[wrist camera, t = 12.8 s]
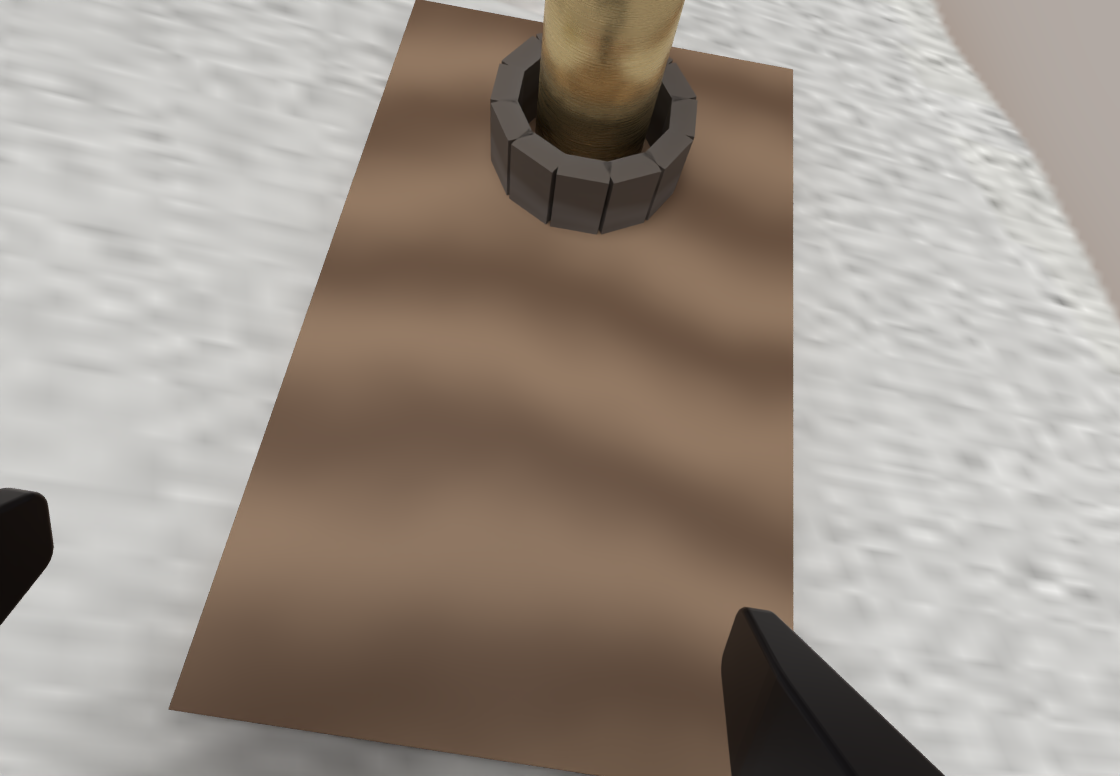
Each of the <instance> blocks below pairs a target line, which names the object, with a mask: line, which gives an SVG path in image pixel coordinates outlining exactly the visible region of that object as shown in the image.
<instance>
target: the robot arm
mask: <svg viewBox="0 0 1120 776" xmlns="http://www.w3.org/2000/svg"><path fill="white" fill-rule="evenodd" d="M53 548H54V545H53V537H52V530H51V523H50V516H49V509H48V503H47V500H46V499H45V497H44V496H43V495H42V494H40V493H38V492H33V491H27V490H21V489H15V488H2V489H0V625H1V624H2V623H3V621H4V620H5V619H6V618H7V616H8V615H9V614H10V613H11V611H12V610H13V609H14V608H15V606H16V605H17V604H18V603H19V601H20V600H21V599H22V597H23V596H24V595H25V594H26V592H27V591H28V590H29V589H30V587H31V586H32V585H33V584H34V582H35V581H36V580H37V579H38V577H39V576H40V575H41V574H42V572H43V571H44V570H45V568H46V567H47V565H48V564H49V562H50V560H51V557H52V554H53ZM721 678H722V688H723V698H724V708H725V718H726V728H727V738H728V748H729V758H730V768H731V776H945V775H944V774H943V773H942V772H941V771H940V770H938V769H937V768H936V767H935V766H934V765H933V764H932V763H931V762H930V761H929V760H928V759H927V758H926V757H925V756H924V755H923V754H922V753H921V752H920V751H919V750H918V749H916V748H915V747H914V746H913V745H912V744H911V743H910V742H909V741H908V740H907V739H906V738H905V737H904V736H903V735H902V734H901V733H900V732H899V731H898V730H897V729H895V728H894V727H893V726H892V725H891V724H890V723H889V722H888V721H887V720H886V719H885V718H884V717H883V716H882V715H881V714H880V713H879V712H878V711H877V710H876V709H875V708H873V707H872V706H871V705H870V704H869V703H868V702H867V701H866V700H865V699H864V698H863V697H862V696H861V695H860V694H859V693H858V692H857V691H856V690H855V689H854V688H852V687H851V686H850V685H849V684H848V683H847V682H846V681H845V680H844V679H843V678H842V677H841V676H840V675H839V674H838V673H837V672H836V671H835V670H834V669H833V668H832V667H830V666H829V665H828V664H827V663H826V662H825V661H824V660H823V659H822V658H821V657H820V656H819V655H818V654H817V653H816V652H815V651H814V650H813V649H812V648H811V647H809V646H808V645H807V644H806V643H805V642H804V641H803V640H802V639H801V638H800V637H799V636H798V635H797V634H796V633H795V632H794V631H793V630H792V629H791V628H790V627H789V626H787V625H786V624H785V623H784V622H783V621H782V620H781V619H780V618H779V617H778V616H777V615H776V614H775V613H773V612H772V611H769V610H763V609H757V608H751V607H743V608H741V609H739V611H738V612H737V614H736V616H735V619H734V622H733V625H732V628H731V631H730V634H729V637H728V640H727V643H726V646H725V649H724V652H723V655H722V661H721Z"/></svg>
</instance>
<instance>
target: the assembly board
mask: <svg viewBox="0 0 1120 776" xmlns="http://www.w3.org/2000/svg"><path fill="white" fill-rule="evenodd" d="M542 36H543V23H542V22H537V21H531V20H526V19H521V18H515V17H510V16H505V15H499V14H494V13H489V12H483V11H478V10H473V9H468V8H462V7H457V6H452V5H446V4H441V3H436V2H430V1H425V0H416V1H415V4H414V7H413V10H412V12H411V15H410V18H409V21H408V24H407V27H406V30H405V32H404V35H403V38H402V41H401V44H400V47H399V50H398V53H397V55H396V58H395V61H394V64H393V67H392V70H391V73H390V75H389V78H388V81H387V84H386V87H385V90H384V93H383V96H382V98H381V101H380V104H379V107H378V110H377V113H376V116H375V119H374V121H373V124H372V127H371V130H370V133H369V136H368V139H367V141H366V144H365V147H364V150H363V153H362V156H361V159H360V162H359V164H358V167H357V170H356V173H355V176H354V179H353V182H352V184H351V187H350V190H349V193H348V196H347V199H346V202H345V205H344V207H343V210H342V213H341V216H340V219H339V222H338V225H337V227H336V230H335V233H334V236H333V239H332V242H331V245H330V248H329V250H328V253H327V256H326V259H325V262H324V265H323V268H322V270H321V273H320V276H319V279H318V282H317V285H316V288H315V291H314V293H313V296H312V299H311V302H310V305H309V308H308V311H307V313H306V316H305V319H304V322H303V325H302V328H301V331H300V334H299V336H298V339H297V342H296V345H295V348H294V351H293V354H292V356H291V359H290V362H289V365H288V368H287V371H286V374H285V377H284V379H283V382H282V385H281V388H280V391H279V394H278V397H277V399H276V402H275V405H274V408H273V411H272V414H271V417H270V420H269V422H268V425H267V428H266V431H265V434H264V437H263V440H262V442H261V445H260V448H259V451H258V454H257V457H256V460H255V463H254V465H253V468H252V471H251V474H250V477H249V480H248V483H247V485H246V488H245V491H244V494H243V497H242V500H241V503H240V506H239V508H238V511H237V514H236V517H235V520H234V523H233V526H232V528H231V531H230V534H229V537H228V540H227V543H226V546H225V549H224V551H223V554H222V557H221V560H220V563H219V566H218V569H217V571H216V574H215V577H214V580H213V583H212V586H211V589H210V592H209V594H208V597H207V600H206V603H205V606H204V609H203V612H202V614H201V617H200V620H199V623H198V626H197V629H196V632H195V635H194V637H193V640H192V643H191V646H190V649H189V652H188V655H187V657H186V660H185V663H184V666H183V669H182V672H181V675H180V678H179V680H178V683H177V686H176V689H175V692H174V695H173V698H172V700H171V703H170V706H169V709H168V710H175V711H181V712H188V713H194V714H201V715H207V716H214V717H220V718H227V719H233V720H240V721H246V722H253V723H259V724H266V725H272V726H279V727H285V728H292V729H298V730H305V731H311V732H318V733H324V734H331V735H337V736H344V737H350V738H357V739H363V740H370V741H376V742H383V743H389V744H396V745H402V746H409V747H415V748H422V749H428V750H435V751H441V752H448V753H454V754H461V755H467V756H474V757H480V758H487V759H493V760H500V761H506V762H513V763H519V764H526V765H532V766H539V767H545V768H552V769H558V770H565V771H571V772H578V773H584V774H591V775H597V776H731V768H730V758H729V748H728V738H727V728H726V718H725V708H724V698H723V688H722V678H721V661H722V655H723V652H724V649H725V646H726V643H727V640H728V637H729V634H730V631H731V628H732V625H733V622H734V619H735V616H736V614H737V612H738V611H739V609H741V608H743V607H751V608H757V609H763V610H769V611H772V612H773V613H775V614H776V615H777V616H778V617H779V618H780V619H781V620H782V621H783V622H784V623H785V624H786V625H787V626H789V627H790V628H791V629H792V630H793V69H787V68H782V67H777V66H771V65H766V64H761V63H755V62H750V61H745V60H739V59H734V58H729V57H723V56H718V55H713V54H707V53H702V52H697V51H691V50H686V49H681V48H675V47H671V50H670V54H669V57H668V61H667V64H666V68H665V71H664V75H663V78H662V82H661V85H660V89H659V92H658V96H657V99H656V103H655V106H654V110H653V113H652V117H651V120H650V124H649V127H648V131H647V134H646V138H645V141H644V145H643V148H642V152H641V153H640V154H636V155H632V156H628V157H624V158H620V159H616V160H612V161H608V162H607V161H602V160H596V159H591V158H585V157H580V156H574V155H569V154H565V153H563V152H562V151H560V150H559V149H557V148H556V147H555V146H553V145H552V144H550V143H549V142H547V141H546V140H544V139H543V138H541V137H540V136H538V135H537V134H536V133H535V128H536V115H537V102H538V89H539V75H540V62H541V49H542Z"/></svg>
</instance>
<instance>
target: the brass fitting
mask: <svg viewBox="0 0 1120 776" xmlns="http://www.w3.org/2000/svg"><path fill="white" fill-rule="evenodd" d="M684 1H685V0H545V9H544V22H543V36H542V49H541V62H540V75H539V89H538V102H537V115H536V128H535V133H536V134H537V135H538V136H540V137H541V138H543V139H544V140H546V141H547V142H549V143H550V144H552V145H553V146H555V147H556V148H557V149H559V150H560V151H562V152H563V153H565V154H569V155H574V156H580V157H585V158H591V159H596V160H602V161H607V162H608V161H612V160H616V159H620V158H624V157H628V156H632V155H636V154H640V153H641V152H642V148H643V145H644V141H645V138H646V134H647V131H648V127H649V124H650V120H651V117H652V113H653V110H654V106H655V103H656V99H657V96H658V92H659V89H660V85H661V82H662V78H663V75H664V71H665V68H666V64H667V61H668V57H669V54H670V50H671V47H672V43H673V40H674V36H675V33H676V29H677V26H678V22H679V19H680V15H681V12H682V8H683V5H684Z"/></svg>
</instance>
